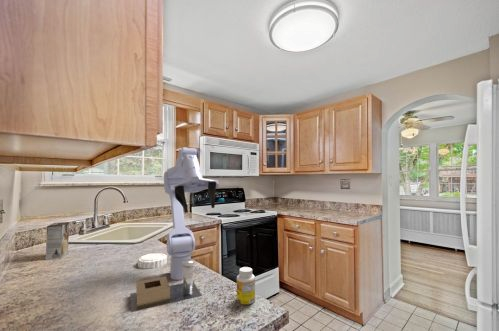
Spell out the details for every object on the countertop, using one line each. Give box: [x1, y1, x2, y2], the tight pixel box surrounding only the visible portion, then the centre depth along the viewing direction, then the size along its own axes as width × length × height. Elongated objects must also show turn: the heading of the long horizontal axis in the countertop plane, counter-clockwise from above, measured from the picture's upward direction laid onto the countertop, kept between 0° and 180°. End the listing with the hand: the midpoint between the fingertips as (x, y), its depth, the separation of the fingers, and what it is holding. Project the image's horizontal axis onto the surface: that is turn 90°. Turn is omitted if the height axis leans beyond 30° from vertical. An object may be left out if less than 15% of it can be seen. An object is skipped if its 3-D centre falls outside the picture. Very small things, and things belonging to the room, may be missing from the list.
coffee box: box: [45, 221, 70, 261], centre depth 117 cm, size 9×6×16 cm
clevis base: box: [130, 275, 203, 313], centre depth 75 cm, size 12×20×5 cm, turn 117°
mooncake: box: [137, 252, 168, 270], centre depth 105 cm, size 12×12×4 cm
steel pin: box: [182, 258, 196, 295], centre depth 76 cm, size 4×4×10 cm
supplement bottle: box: [236, 266, 256, 306], centre depth 71 cm, size 6×6×10 cm
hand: (200, 208), depth 67 cm, fingers open, 7 cm apart
